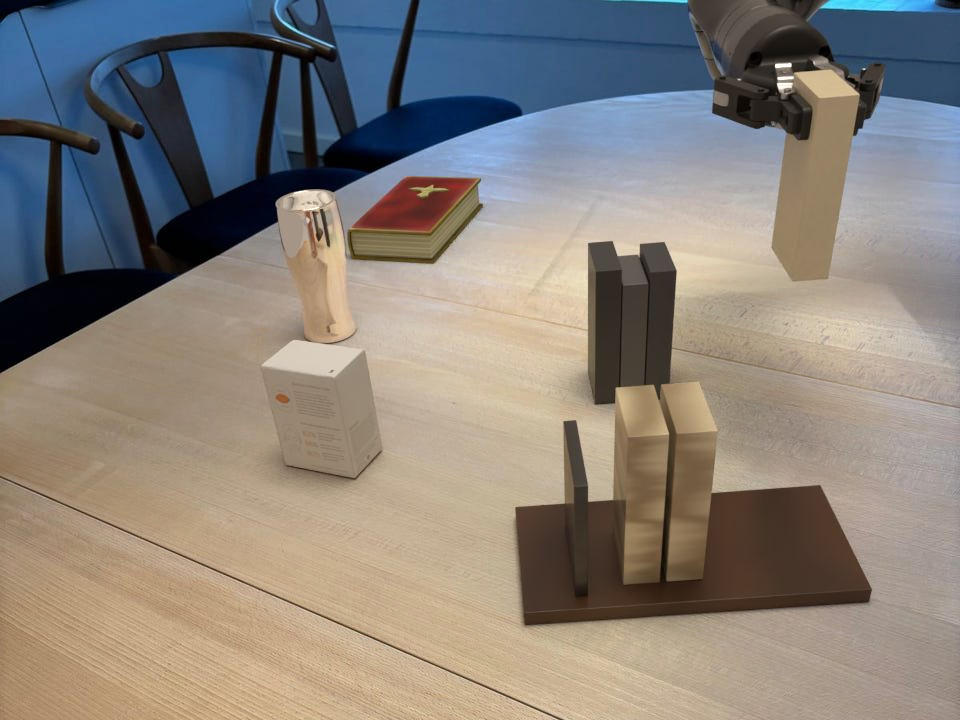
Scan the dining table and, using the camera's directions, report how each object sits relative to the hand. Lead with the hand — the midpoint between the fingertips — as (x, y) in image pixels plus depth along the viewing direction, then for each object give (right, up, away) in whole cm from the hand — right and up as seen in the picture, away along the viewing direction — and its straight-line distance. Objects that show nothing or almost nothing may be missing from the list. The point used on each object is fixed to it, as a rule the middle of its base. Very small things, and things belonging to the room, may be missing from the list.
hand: (830, 123), depth 70 cm
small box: (-39, -19, +25) cm, 50 cm away
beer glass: (-43, -1, +45) cm, 62 cm away
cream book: (+1, -6, +9) cm, 11 cm away
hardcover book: (-33, +20, +67) cm, 78 cm away
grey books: (-10, -11, +31) cm, 34 cm away
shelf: (-9, -30, +9) cm, 33 cm away
